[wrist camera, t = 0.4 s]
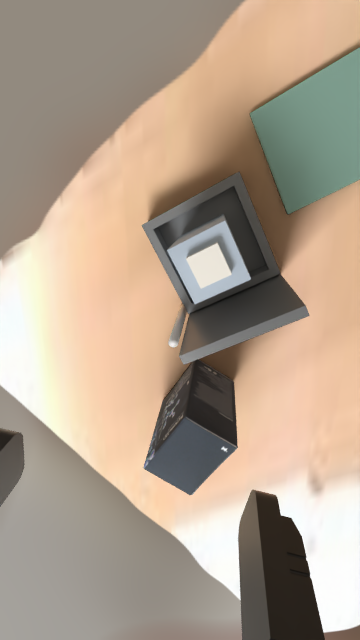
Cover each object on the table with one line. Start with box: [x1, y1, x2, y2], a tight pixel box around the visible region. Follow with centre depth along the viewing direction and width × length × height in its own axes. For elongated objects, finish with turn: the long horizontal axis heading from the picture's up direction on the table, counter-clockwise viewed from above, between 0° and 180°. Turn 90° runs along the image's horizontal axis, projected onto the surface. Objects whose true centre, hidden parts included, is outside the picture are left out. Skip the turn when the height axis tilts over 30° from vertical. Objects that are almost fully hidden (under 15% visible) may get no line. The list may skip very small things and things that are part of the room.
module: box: [167, 214, 251, 304], centre depth 26 cm, size 4×4×10 cm
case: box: [142, 172, 309, 364], centre depth 26 cm, size 11×11×11 cm
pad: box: [250, 47, 360, 214], centre depth 26 cm, size 9×9×1 cm
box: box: [144, 359, 238, 495], centre depth 32 cm, size 8×6×11 cm
